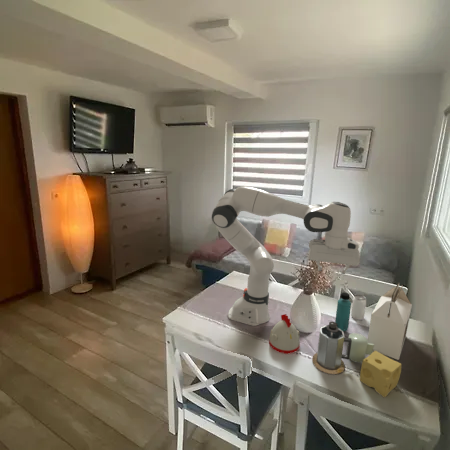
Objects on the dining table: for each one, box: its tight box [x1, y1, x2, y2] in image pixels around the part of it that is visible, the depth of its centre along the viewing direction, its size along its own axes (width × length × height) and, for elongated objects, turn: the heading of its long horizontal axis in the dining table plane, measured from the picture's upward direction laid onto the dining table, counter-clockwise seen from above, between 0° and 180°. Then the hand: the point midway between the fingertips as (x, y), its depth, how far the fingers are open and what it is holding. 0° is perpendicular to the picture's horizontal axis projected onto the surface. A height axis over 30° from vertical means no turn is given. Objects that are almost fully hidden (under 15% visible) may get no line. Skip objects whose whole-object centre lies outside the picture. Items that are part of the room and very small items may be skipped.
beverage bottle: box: [334, 292, 352, 332], centre depth 144 cm, size 6×7×20 cm
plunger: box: [326, 321, 339, 338], centre depth 120 cm, size 7×7×13 cm
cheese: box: [359, 350, 402, 398], centre depth 112 cm, size 10×11×10 cm
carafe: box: [311, 324, 352, 376], centre depth 121 cm, size 14×13×15 cm
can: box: [350, 294, 367, 321], centre depth 157 cm, size 6×6×12 cm
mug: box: [345, 332, 374, 363], centre depth 127 cm, size 10×8×9 cm
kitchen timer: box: [268, 313, 301, 355], centre depth 134 cm, size 14×14×15 cm
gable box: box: [367, 282, 413, 361], centre depth 135 cm, size 22×13×28 cm, turn 142°
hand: (331, 271), depth 124 cm, fingers open, 8 cm apart
